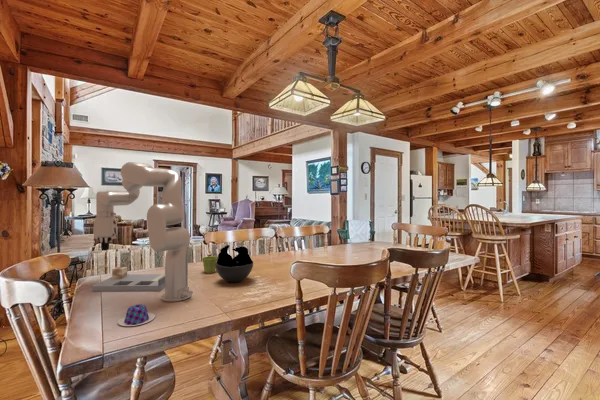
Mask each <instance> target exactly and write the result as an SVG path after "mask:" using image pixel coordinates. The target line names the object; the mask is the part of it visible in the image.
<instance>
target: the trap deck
mask: <svg viewBox="0 0 600 400" xmlns="http://www.w3.org/2000/svg"><path fill="white" fill-rule="evenodd" d="M162 290H165V273H164V274H163V273H156V274H155V273H154V274H153V273H150V274H149V273H147V274H145V273H144V274H139V273H134V274H132V273H131V274H130V273H129V274H128V273H127V277H125V278H123V279H112V276H111V277H109V278H107V279H104V280H101V281H100V282H97V283H96V284H94V285H92V286H91V292H161V291H162Z"/></svg>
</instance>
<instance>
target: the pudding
mask: <svg viewBox="0 0 600 400" xmlns="http://www.w3.org/2000/svg"><path fill="white" fill-rule="evenodd" d="M155 316H156V315H155V313H152V312H148V310H147V306H146V304H141V303H140V304H134V305H131V306H129V307H128V308H127V310H126V313H125V316H124V317H123V316H122V317H121V318H120V319H118V321H117V324H118V325H119V326H122V327H134V326H135V327H136V326H139V325H140V326H141V325H144V324H146V323H147V324H148V323H149V322H151V321H153V320H154V319H155Z"/></svg>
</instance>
